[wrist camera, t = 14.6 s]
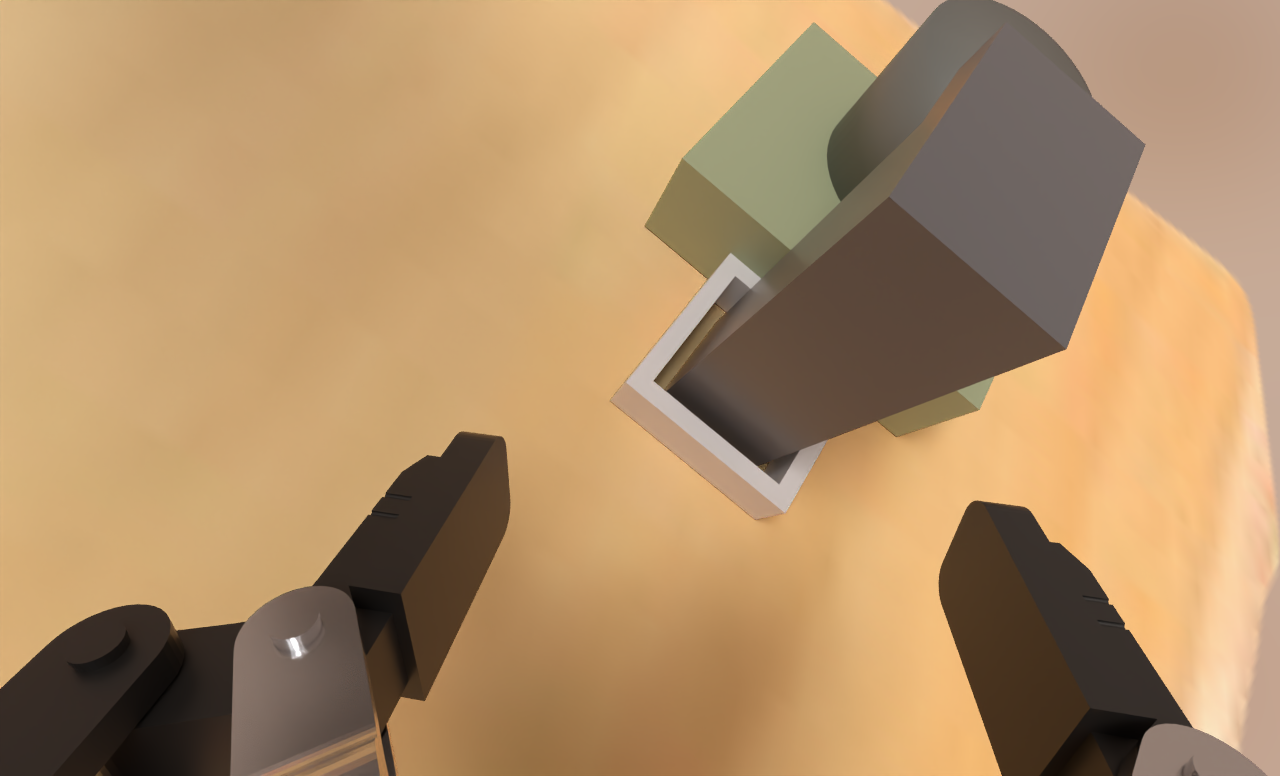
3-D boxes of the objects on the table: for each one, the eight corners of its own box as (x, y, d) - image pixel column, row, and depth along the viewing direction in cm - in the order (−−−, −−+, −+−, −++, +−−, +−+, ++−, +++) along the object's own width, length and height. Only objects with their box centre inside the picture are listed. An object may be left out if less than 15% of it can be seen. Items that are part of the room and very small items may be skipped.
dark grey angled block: (745, 470, 26) (1066, 348, 13) (657, 398, 26) (888, 196, 12) (824, 346, 30) (1145, 144, 16) (747, 281, 29) (1006, 21, 16)
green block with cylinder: (764, 98, 34) (898, -108, 24) (976, 280, 34) (1195, 156, 24) (537, 341, 25) (597, 181, 15) (825, 576, 26) (1063, 571, 16)
